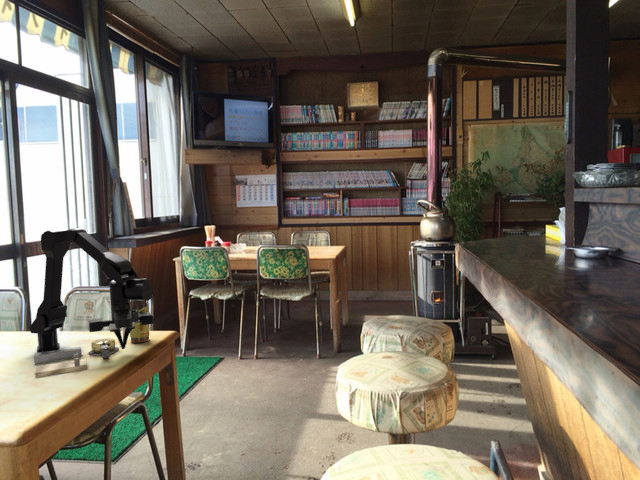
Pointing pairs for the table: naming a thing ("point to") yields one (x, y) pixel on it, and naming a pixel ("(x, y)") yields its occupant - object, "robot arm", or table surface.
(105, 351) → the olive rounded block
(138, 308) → the sauce bottle
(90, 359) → the table surface
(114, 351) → the nut base
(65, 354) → the grey bar
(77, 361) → the cradle
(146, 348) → the table surface
